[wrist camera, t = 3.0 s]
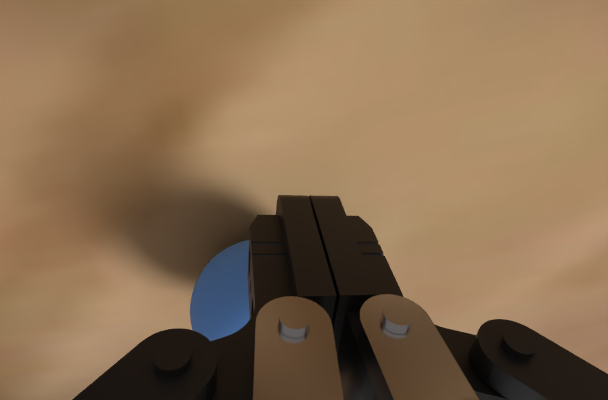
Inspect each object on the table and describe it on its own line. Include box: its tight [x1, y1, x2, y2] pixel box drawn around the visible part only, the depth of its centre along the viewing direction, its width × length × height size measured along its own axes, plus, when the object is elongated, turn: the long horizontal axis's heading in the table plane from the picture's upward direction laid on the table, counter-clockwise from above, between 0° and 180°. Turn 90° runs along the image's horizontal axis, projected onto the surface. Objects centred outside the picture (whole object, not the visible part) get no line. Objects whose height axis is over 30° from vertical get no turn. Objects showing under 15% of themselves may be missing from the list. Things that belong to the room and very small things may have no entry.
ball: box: [190, 240, 250, 341], centre depth 20 cm, size 6×6×6 cm
